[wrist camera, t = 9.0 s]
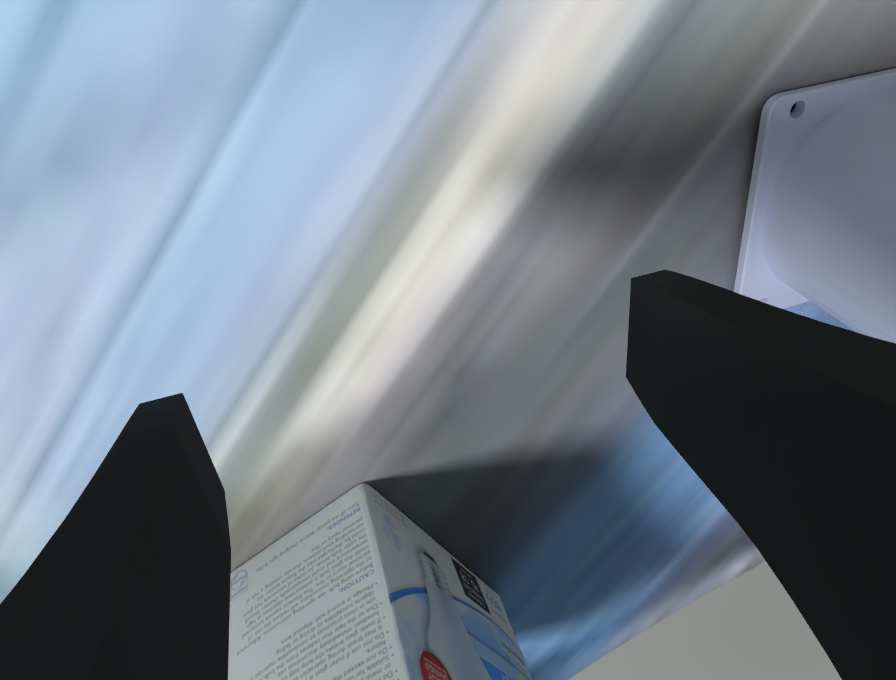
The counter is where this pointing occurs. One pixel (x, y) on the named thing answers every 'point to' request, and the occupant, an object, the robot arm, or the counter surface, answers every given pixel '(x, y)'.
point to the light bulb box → (365, 604)
